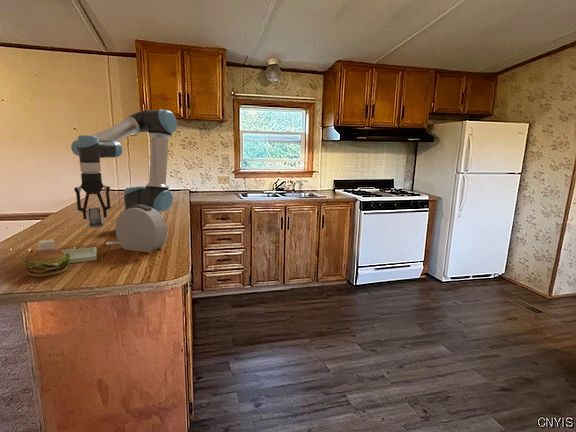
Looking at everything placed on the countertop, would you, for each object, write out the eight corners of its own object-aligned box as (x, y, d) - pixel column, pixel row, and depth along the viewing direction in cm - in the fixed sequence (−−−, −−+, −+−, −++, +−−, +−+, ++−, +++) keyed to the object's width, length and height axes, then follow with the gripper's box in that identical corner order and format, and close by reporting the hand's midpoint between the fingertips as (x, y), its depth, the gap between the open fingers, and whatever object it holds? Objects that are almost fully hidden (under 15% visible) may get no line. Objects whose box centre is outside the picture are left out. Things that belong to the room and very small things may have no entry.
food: (18, 281, 114) (16, 258, 113) (30, 268, 127) (27, 247, 126) (67, 276, 120) (65, 254, 118) (73, 264, 133) (72, 244, 131)
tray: (96, 251, 150) (96, 247, 149) (96, 260, 137) (96, 256, 137) (57, 254, 143) (57, 250, 143) (54, 264, 131) (53, 260, 131)
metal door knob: (102, 224, 156) (100, 206, 154) (102, 226, 151) (100, 208, 150) (89, 225, 153) (87, 207, 152) (89, 228, 149) (86, 209, 147)
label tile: (120, 241, 165) (120, 240, 165) (121, 243, 162) (121, 242, 162) (106, 242, 163) (106, 242, 163) (106, 244, 159) (106, 244, 159)
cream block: (53, 250, 149) (52, 239, 148) (56, 253, 145) (55, 241, 144) (39, 252, 146) (38, 241, 145) (41, 255, 142) (40, 243, 141)
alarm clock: (167, 249, 156) (166, 205, 152) (157, 253, 149) (155, 208, 145) (128, 244, 162) (125, 202, 158) (116, 248, 155) (113, 204, 151)
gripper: (114, 171, 155) (118, 222, 160) (66, 172, 147) (72, 225, 151) (115, 172, 149) (119, 225, 154) (65, 173, 140) (71, 229, 145)
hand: (96, 225), depth 152 cm, fingers closed on metal door knob, 5 cm apart
